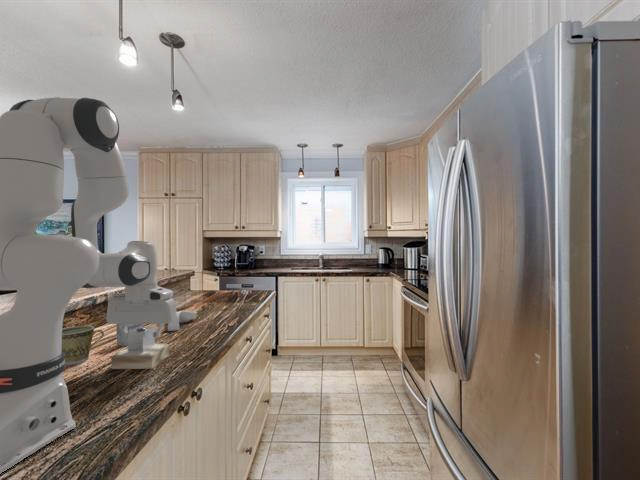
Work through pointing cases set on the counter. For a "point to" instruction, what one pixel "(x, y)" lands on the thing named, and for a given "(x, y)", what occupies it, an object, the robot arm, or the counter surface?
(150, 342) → the block
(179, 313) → the spoon rest
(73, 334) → the ceramic cup
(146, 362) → the stand
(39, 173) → the robot arm
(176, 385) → the counter surface
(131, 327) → the medicine box
